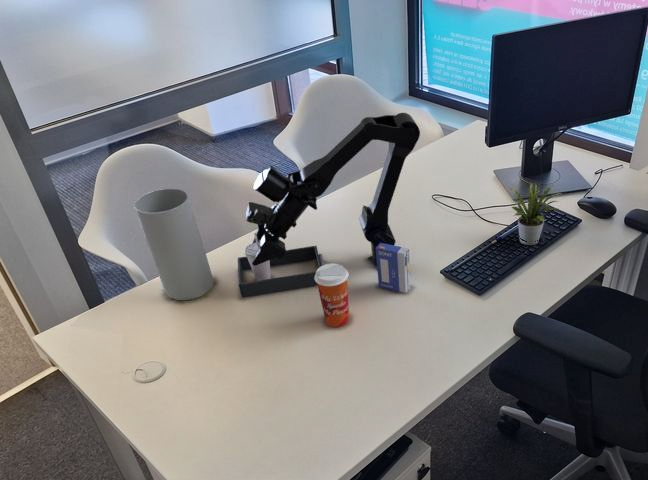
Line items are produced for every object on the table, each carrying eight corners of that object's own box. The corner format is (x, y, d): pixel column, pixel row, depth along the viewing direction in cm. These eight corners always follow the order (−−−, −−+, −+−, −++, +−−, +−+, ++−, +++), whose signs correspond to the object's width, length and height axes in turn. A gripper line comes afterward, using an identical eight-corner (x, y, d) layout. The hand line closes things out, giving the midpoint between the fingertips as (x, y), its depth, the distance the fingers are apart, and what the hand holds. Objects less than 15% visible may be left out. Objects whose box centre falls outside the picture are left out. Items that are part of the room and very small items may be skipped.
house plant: (569, 248, 168) (577, 193, 157) (524, 260, 164) (530, 204, 153) (541, 224, 178) (547, 171, 167) (498, 235, 174) (502, 181, 164)
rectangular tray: (322, 257, 170) (320, 244, 167) (328, 283, 160) (326, 271, 157) (240, 270, 167) (237, 257, 164) (242, 298, 157) (238, 285, 154)
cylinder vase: (222, 277, 164) (198, 190, 148) (199, 304, 155) (170, 215, 139) (181, 271, 167) (153, 186, 151) (156, 298, 158) (123, 210, 142)
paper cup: (324, 333, 145) (316, 283, 135) (319, 314, 150) (311, 265, 141) (357, 326, 146) (351, 277, 137) (350, 307, 152) (344, 259, 142)
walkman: (378, 287, 158) (375, 247, 150) (383, 281, 160) (380, 241, 152) (406, 293, 155) (404, 252, 147) (411, 287, 157) (409, 247, 149)
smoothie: (273, 286, 160) (263, 239, 151) (249, 287, 160) (237, 240, 151) (277, 272, 165) (268, 226, 156) (254, 273, 165) (243, 227, 156)
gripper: (259, 176, 154) (224, 222, 160) (263, 211, 140) (225, 259, 146) (295, 200, 160) (261, 243, 166) (302, 236, 146) (264, 282, 152)
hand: (252, 256), depth 157 cm, fingers open, 8 cm apart
